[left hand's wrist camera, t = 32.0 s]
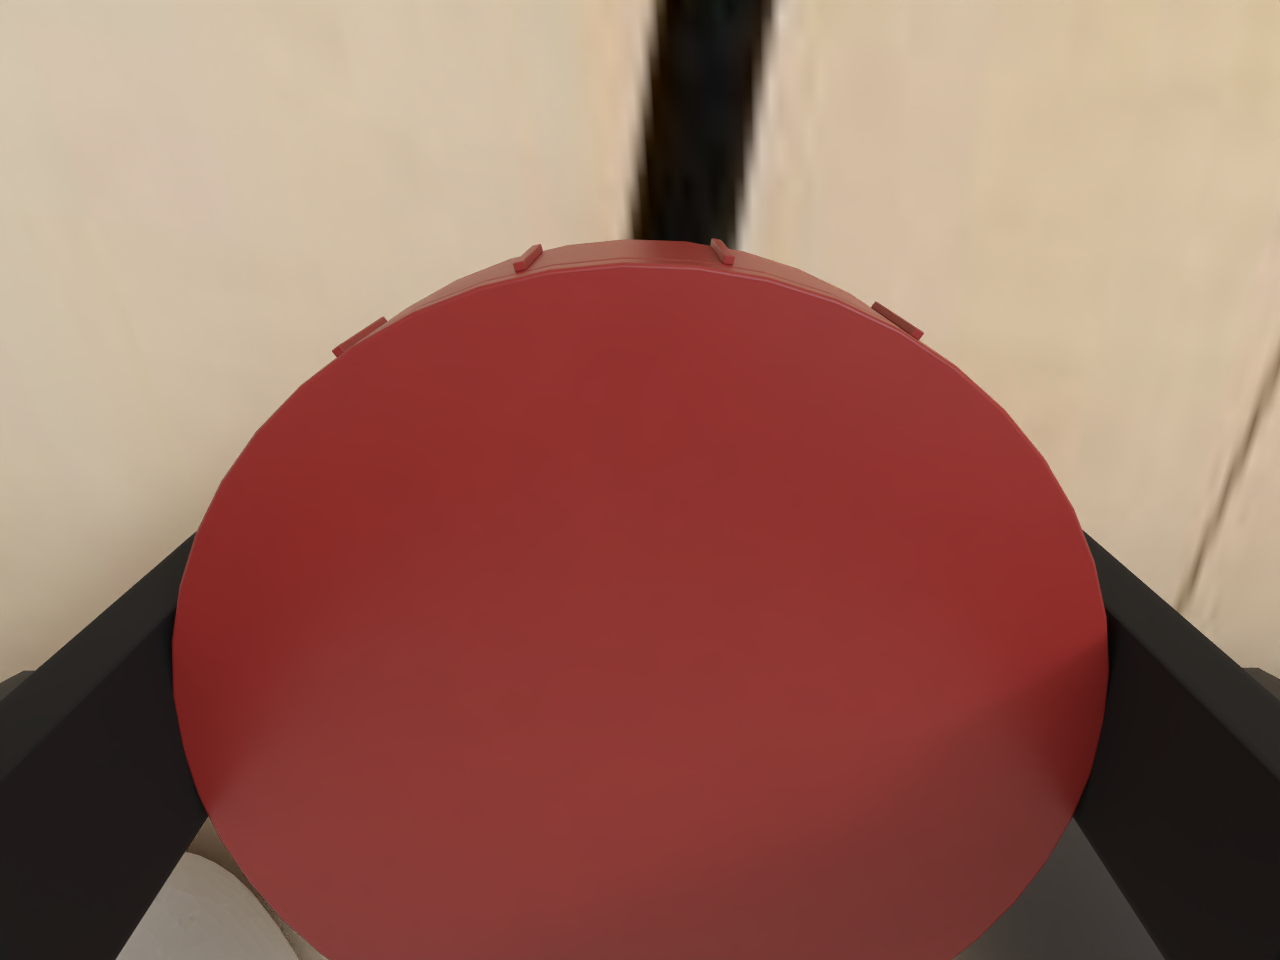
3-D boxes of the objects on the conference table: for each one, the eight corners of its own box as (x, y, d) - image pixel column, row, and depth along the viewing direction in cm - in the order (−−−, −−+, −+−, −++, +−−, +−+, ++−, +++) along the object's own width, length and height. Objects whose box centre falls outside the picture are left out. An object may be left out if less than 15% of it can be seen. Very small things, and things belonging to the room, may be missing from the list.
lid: (104, 646, 12) (-9, 752, 10) (618, 31, 10) (612, -2, 7) (653, 1021, 15) (656, 1169, 13) (1183, 617, 12) (1300, 719, 10)
